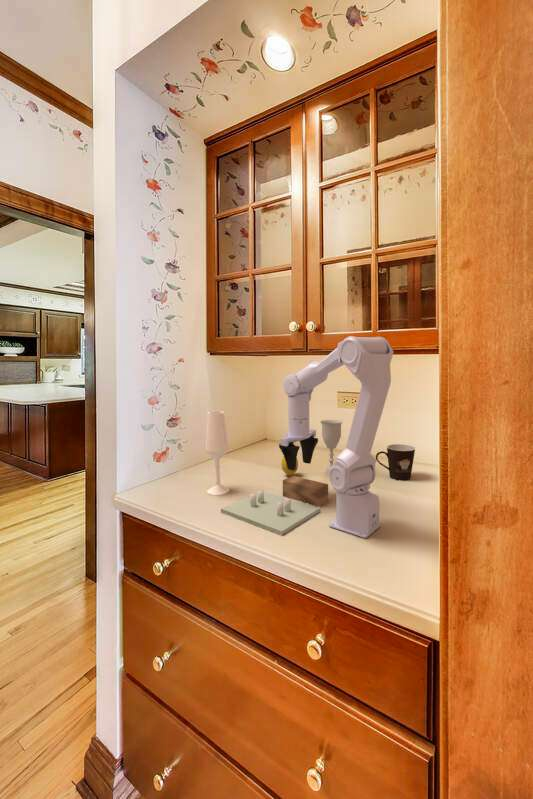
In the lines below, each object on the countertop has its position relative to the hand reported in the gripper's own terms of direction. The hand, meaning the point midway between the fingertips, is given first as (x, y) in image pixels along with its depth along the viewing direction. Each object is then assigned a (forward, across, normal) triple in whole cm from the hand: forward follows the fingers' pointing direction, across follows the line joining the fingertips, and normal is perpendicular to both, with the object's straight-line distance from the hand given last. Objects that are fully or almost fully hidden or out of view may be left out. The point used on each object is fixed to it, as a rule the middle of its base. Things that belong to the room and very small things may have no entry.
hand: (299, 466), depth 103 cm
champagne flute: (+10, +10, -23) cm, 27 cm away
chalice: (+10, -24, -4) cm, 26 cm away
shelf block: (+10, -1, +1) cm, 10 cm away
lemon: (+10, -14, -14) cm, 22 cm away
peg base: (+9, +12, -1) cm, 15 cm away
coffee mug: (+10, -34, +14) cm, 38 cm away
